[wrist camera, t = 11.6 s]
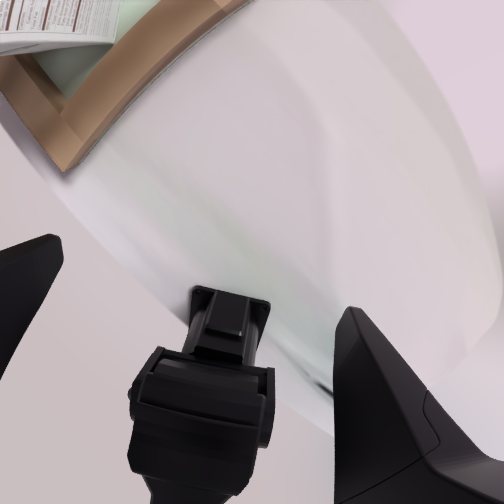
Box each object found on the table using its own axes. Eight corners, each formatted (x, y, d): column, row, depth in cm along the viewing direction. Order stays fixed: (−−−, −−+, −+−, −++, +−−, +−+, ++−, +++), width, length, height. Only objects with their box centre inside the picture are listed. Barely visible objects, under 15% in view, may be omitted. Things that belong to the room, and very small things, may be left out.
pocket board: (268, -10, 14) (265, -22, 11) (81, 162, 21) (63, 172, 19) (120, -116, 7) (106, -127, 5) (-13, 38, 14) (-32, 40, 12)
